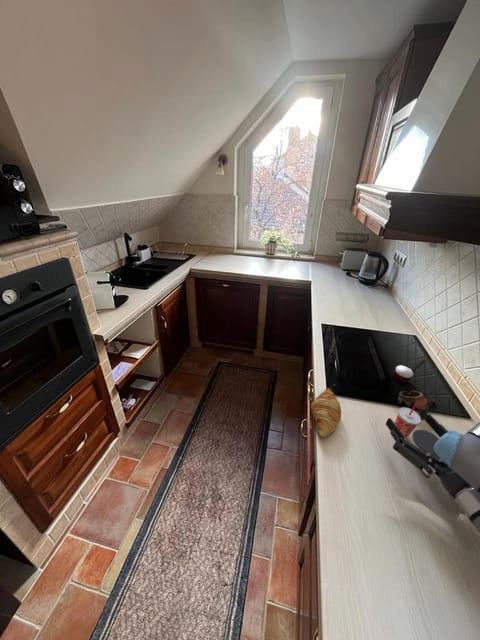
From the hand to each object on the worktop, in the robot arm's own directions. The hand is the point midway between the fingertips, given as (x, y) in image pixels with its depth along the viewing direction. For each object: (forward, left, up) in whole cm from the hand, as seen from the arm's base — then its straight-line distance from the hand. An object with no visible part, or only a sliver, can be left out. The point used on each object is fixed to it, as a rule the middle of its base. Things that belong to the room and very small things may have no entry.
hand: (407, 418), depth 80 cm
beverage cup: (0, 0, -8) cm, 8 cm away
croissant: (+24, -1, -8) cm, 25 cm away
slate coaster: (-8, +1, -7) cm, 11 cm away
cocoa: (-8, -28, -8) cm, 30 cm away
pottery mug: (-8, -12, -8) cm, 16 cm away
